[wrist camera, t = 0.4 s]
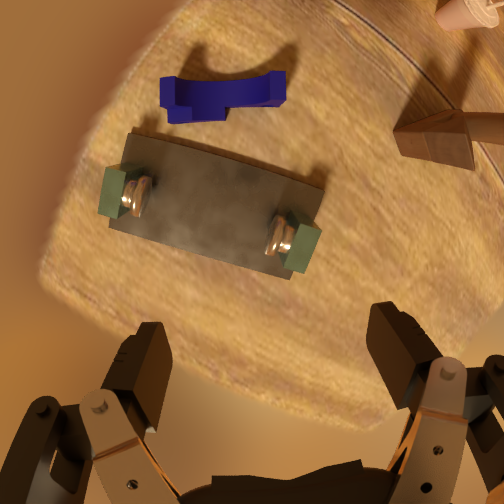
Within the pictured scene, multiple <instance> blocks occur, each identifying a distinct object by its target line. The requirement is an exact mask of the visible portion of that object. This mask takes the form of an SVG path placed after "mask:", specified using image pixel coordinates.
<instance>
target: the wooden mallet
mask: <svg viewBox="0 0 504 504" xmlns="http://www.w3.org/2000/svg"><path fill="white" fill-rule="evenodd" d="M393 134H394V137H395V140H396V142H397V145H398V148H399V151H400V153H401V155H402V156H405V157H411V158H417V159H422V160H427V161H433V162H436V163H441V164H446V165H450V166H455V167H459V168H463V169H468V170H472V171H475V164H474V155H473V148H472V142H471V141H478V142H485V143H492V144H499V145H504V113H490V112H463V111H462V110H460V109H458V110H446V111H443V112H440V113H437V114H435V115H432V116H429V117H427V118H424V119H422V120H419V121H416V122H414V123H411V124H409V125H406V126H403V127H401V128H398V129H396V130H394V131H393Z"/></svg>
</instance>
